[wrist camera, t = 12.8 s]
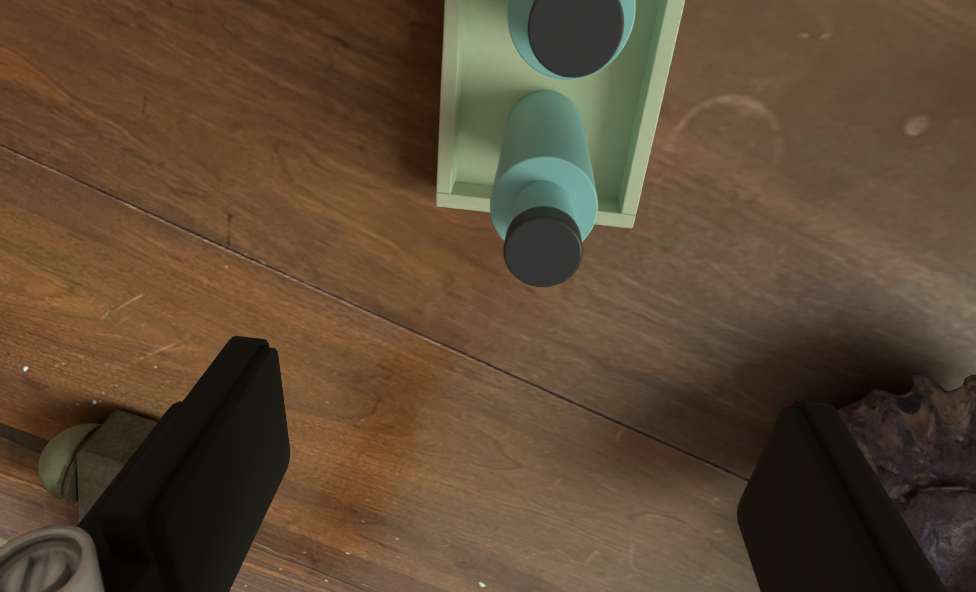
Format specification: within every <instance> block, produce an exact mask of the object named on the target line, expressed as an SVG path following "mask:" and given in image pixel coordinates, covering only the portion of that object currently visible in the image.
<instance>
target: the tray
mask: <svg viewBox="0 0 976 592" xmlns="http://www.w3.org/2000/svg"><path fill="white" fill-rule="evenodd" d="M508 1H509V0H445V4H444V27H443V50H442V72H441V95H440V118H439V141H438V163H437V186H436V191H437V193H436V206H439V207H448V208H457V209H466V210H474V211H483V212H490V199H491V193H492V189H493V184H494V180H495V175H496V171H497V166H498V162H499V158H500V153H501V149H502V144H503V140H504V135H505V131H506V126H507V122H508V118H509V115H510V113H511V111H512V109H513V108H514V106H515V105H516V104H517V103H518V102H519V101H520V100H521V99H522V98H524V97H525V96H527V95H529V94H531V93H534V92H537V91H544V90H547V91H555V92H558V93H561V94H563V95H565V96H566V97H568V98H569V99H570V100H571V101H573V103H574V104H575V105H576V106H577V108H578V109H579V112H580V114H581V117H582V121H583V126H584V131H585V136H586V141H587V146H588V151H589V157H590V162H591V167H592V172H593V177H594V182H595V187H596V192H597V198H598V213H597V218H596V221H595V224H597V225H606V226H615V227H624V228H633V225H634V221H635V214H636V212H637V208H638V203H639V199H640V195H641V190H642V186H643V182H644V177H645V173H646V169H647V164H648V160H649V156H650V151H651V147H652V142H653V138H654V134H655V129H656V125H657V121H658V116H659V112H660V108H661V103H662V99H663V94H664V90H665V86H666V81H667V77H668V73H669V68H670V64H671V60H672V55H673V51H674V46H675V42H676V38H677V33H678V29H679V25H680V20H681V16H682V12H683V7H684V3H685V0H636V13H635V20H634V24H633V28H632V31H631V34H630V36H629V38H628V40H627V42H626V44H625V46H624V47H623V49H622V50H621V52H620V53H619V54H618V56H617V57H616V58H615V59H614V60H613V61H612V62H611V63H610V64H609V65H607V66H606V67H605V68H603V69H602V70H600V71H598V72H597V73H595V74H593V75H590V76H587V77H584V78H580V79H574V80H561V79H555V78H551V77H548V76H545V75H543V74H541V73H539V72H538V71H536V70H535V69H533V68H532V67H531V66H530V65H528V64H527V63H526V62H525V61H524V59H523V58H522V57H521V56H520V54H519V53H518V51H517V50H516V48H515V46H514V44H513V42H512V39H511V36H510V32H509V27H508V19H507V8H508Z"/></svg>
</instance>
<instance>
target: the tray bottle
mask: <svg viewBox="0 0 976 592" xmlns="http://www.w3.org/2000/svg"><path fill="white" fill-rule="evenodd" d="M635 13H636V0H509V1H508V8H507V19H508V27H509V32H510V36H511V39H512V42H513V44H514V46H515V48H516V50H517V51H518V53H519V54H520V56H521V57H522V58H523V59H524V61H525V62H526V63H527V64H528V65H530V66H531V67H532V68H533V69H535V70H536V71H538V72H539V73H541V74H543V75H545V76H548V77H551V78H555V79H561V80H574V79H580V78H584V77H587V76H590V75H593V74H595V73H597V72H598V71H600V70H602V69H603V68H605V67H606V66H607V65H609V64H610V63H611V62H612V61H613V60H614V59H615V58H616V57H617V56H618V54H619V53H620V52H621V50H622V49H623V47H624V46H625V44H626V42H627V40H628V38H629V36H630V34H631V31H632V28H633V24H634V20H635Z"/></svg>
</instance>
